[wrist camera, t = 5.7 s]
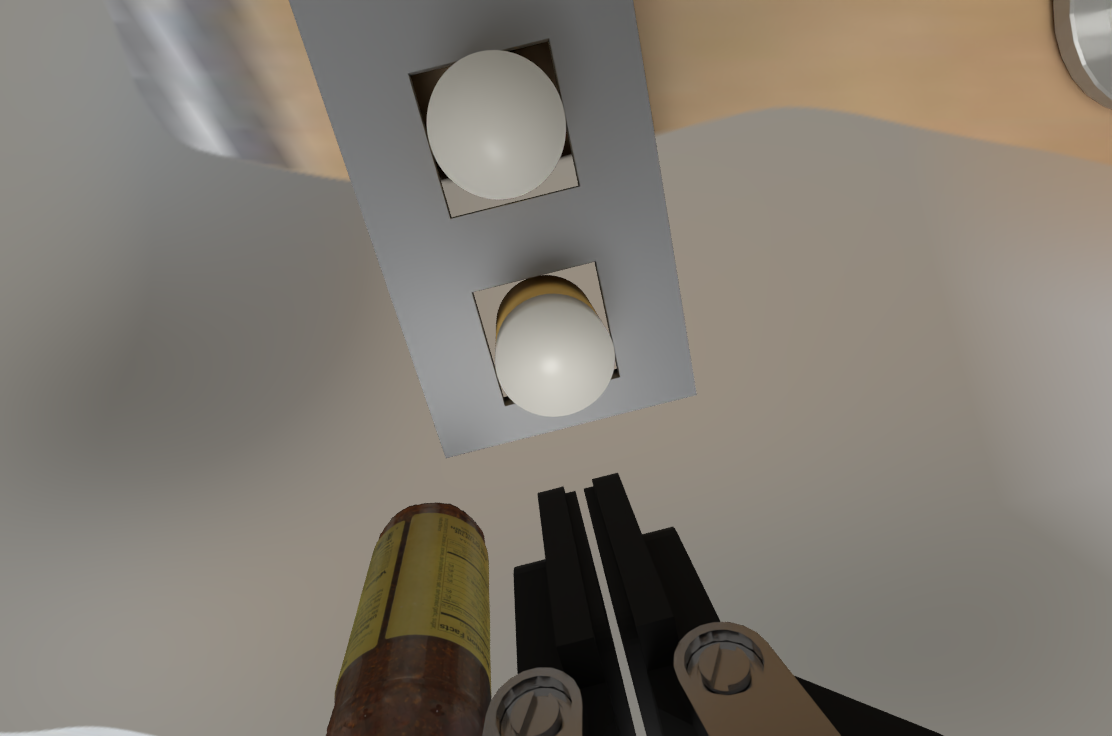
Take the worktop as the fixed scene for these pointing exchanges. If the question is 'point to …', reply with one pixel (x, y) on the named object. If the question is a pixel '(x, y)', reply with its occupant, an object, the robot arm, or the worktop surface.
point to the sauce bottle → (420, 632)
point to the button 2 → (551, 347)
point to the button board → (515, 228)
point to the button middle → (496, 124)
